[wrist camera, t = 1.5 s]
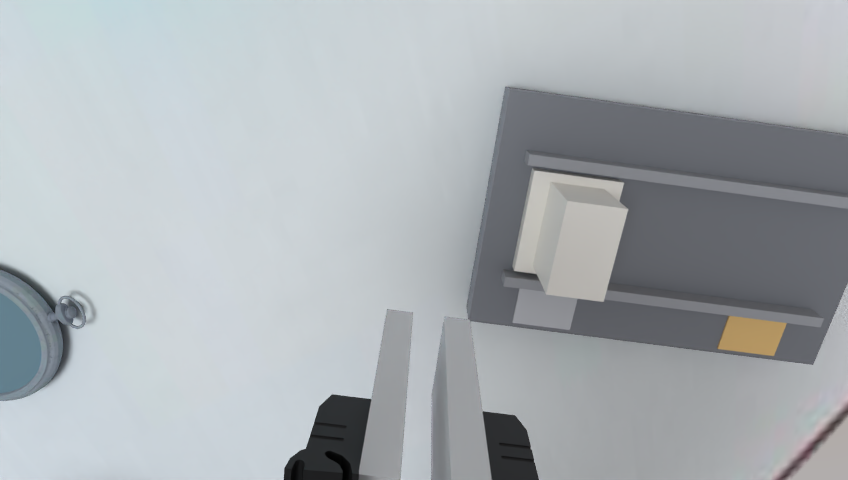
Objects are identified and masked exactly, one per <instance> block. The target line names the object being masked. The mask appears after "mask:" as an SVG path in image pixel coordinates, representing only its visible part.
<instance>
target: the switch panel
mask: <svg viewBox="0 0 848 480" xmlns="http://www.w3.org/2000/svg"><path fill="white" fill-rule="evenodd" d="M532 168H539V169H547V170H554V171H562V172H569V173H576V174H584V175H591V176H598V177H606V178H613V179H620V180H621V181H623V182H624V186H623V190H622V193H621V197H620V201H619V202H620V203H622V204H623V205H624V206H625V207H626V208H628V212H627V216H626V220H625V224H624V227H623V231H622V235H621V239H620V242H619V246H618V250H617V254H616V257H615V261H614V265H613V269H612V272H611V276H610V280H609V284H608V287H607V291H606V295H605V299H604V302H600V301H592V300H584V299H577V298H569V297H561V296H553V295H546V293H545V291H544V289H543V287H542V284H541V282H540V280H539V278H538V276H537V274H533V273H525V272H518V271H514V269H513V266H512V265H513V260H514V255H515V250H516V245H517V240H518V235H519V230H520V225H521V220H522V215H523V211H524V206H525V201H526V196H527V191H528V186H529V181H530V176H531V171H532ZM847 283H848V135H845V134H838V133H831V132H824V131H817V130H810V129H802V128H795V127H788V126H781V125H774V124H767V123H760V122H753V121H745V120H738V119H731V118H724V117H717V116H710V115H703V114H695V113H688V112H681V111H674V110H667V109H660V108H653V107H646V106H638V105H631V104H624V103H617V102H610V101H603V100H596V99H588V98H581V97H574V96H567V95H560V94H553V93H546V92H539V91H531V90H524V89H517V88H510V87H505V92H504V97H503V103H502V109H501V114H500V120H499V126H498V131H497V137H496V143H495V148H494V154H493V160H492V165H491V171H490V177H489V182H488V188H487V194H486V199H485V205H484V211H483V216H482V222H481V228H480V233H479V239H478V245H477V250H476V256H475V262H474V267H473V273H472V279H471V284H470V290H469V296H468V302H467V313H468V320H470V321H474V322H482V323H490V324H497V325H505V326H513V327H521V328H529V329H537V330H544V331H552V332H560V333H568V334H576V335H584V336H592V337H599V338H607V339H615V340H623V341H631V342H639V343H647V344H654V345H662V346H670V347H678V348H686V349H694V350H701V351H709V352H717V353H725V354H733V355H741V356H749V357H756V358H764V359H772V360H780V361H788V362H796V363H803V364H811V365H813V363H814V361H815V359H816V356H817V354H818V352H819V349H820V347H821V344H822V342H823V340H824V337H825V335H826V333H827V330H828V328H829V326H830V323H831V321H832V318H833V316H834V314H835V311H836V309H837V307H838V304H839V302H840V300H841V297H842V295H843V292H844V290H845V288H846V285H847Z"/></svg>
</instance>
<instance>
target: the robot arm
mask: <svg viewBox="0 0 848 480" xmlns="http://www.w3.org/2000/svg"><path fill="white" fill-rule="evenodd" d="M412 320H413V313H412V312H404V311H396V310H388V309H387V313H386V319H385V325H384V330H383V336H382V342H381V348H380V353H379V359H378V365H377V370H376V376H375V382H374V388H373V393H372V399H365V398H356V397H348V396H340V395H331V396H330V397H329V398H328V399H327V400H326V401H325V402H324V403H323V404H322V405H320V406H319V409H318V412H317V416H316V419H315V422H314V425H313V428H312V431H311V435H310V438H309V441H308V444H307V447H306V449H304V450H301V451H299V452H298V453H297V454H295V455H294V456H293V457H291V458H290V460H289V461H288V463H287V465H286V467H285V470H284V480H400V478H401V465H402V452H403V438H404V425H405V412H406V399H407V386H408V372H409V359H410V346H411V333H412ZM530 447H531V446H530V442H529V438H528V434H527V430H526V429H525V428H524V426H523V425H522V424H521V422H520V421H519V420H518V419H517V417H516V416H515V415H507V414H499V413H491V412H482V404H481V397H480V389H479V382H478V375H477V367H476V360H475V352H474V345H473V338H472V330H471V323H470V320H467V319H459V318H451V317H444V322H443V328H442V335H441V341H440V347H439V353H438V359H437V365H436V371H435V378H434V384H433V390H432V416H431V480H539V479H538V475H537V470H536V466H535V463H534V458H533V454H532V450H531V449H530Z"/></svg>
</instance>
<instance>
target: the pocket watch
mask: <svg viewBox="0 0 848 480" xmlns="http://www.w3.org/2000/svg"><path fill="white" fill-rule="evenodd" d="M63 299H69V300H71V301H73V302H74V303H75V304H76V305H77V307H78V308H79V310H80V312H81V314H82V317H83V322H82V324H81V325H80V326H75V325H73V324H72V323H73V318H75V317H76V315H77V311H76V309H75V308H74V307H72V306H71V307H68V306H67V305H66V304H64V303H62V304H61V301H62V300H63ZM57 319H58V320H59V321H60V322H61V323H63V324H64V325H68V324H69V325H70V326H71V327H73V328H76V329H79V328H82V327H83V326H84V325H85V322H86V316H85V313H84V311H83V309H82V307H81V305H80V304H79V303H78V302H77V301H76V300H75V299H73V298H72V297H69V296H63V297H61V298H60V299H59V301H58V305H56V308H55V313H53V311H52V309H51V308H50V307H49V305H48V304H47V302H46V301H45V300H44V299H43V298H42V297H41V296H40V295H39V294H38V293H37V292H36V291H35V290H34V289H33V288H32V287H31V286H29V285H28V284H27V283H25V282H24V281H22V280H21V279H19V278H18V277H16V276H14V275H12V274H10V273H8V272H5V271H3V270H0V401H8V400H15V399H20V398H23V397H26V396H29V395H31V394H33V393H35V392H37V391H38V390H40V389H41V388H42V387H44V386H45V385H46V384H47V383H48V382H49V381H50V380H51V379H52V378H53V376H54V375H55V373H56V371H57V369H58V367H59V364H60V361H61V357H62V353H63V338H62V333H61V329H60V326H59V323H58V321H57Z"/></svg>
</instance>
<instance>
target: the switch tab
mask: <svg viewBox="0 0 848 480" xmlns="http://www.w3.org/2000/svg"><path fill="white" fill-rule="evenodd" d="M623 186H624V182H623V181H621V180H620V179H613V178H606V177H598V176H591V175H584V174H576V173H569V172H562V171H554V170H547V169H539V168H532V171H531V176H530V181H529V186H528V191H527V196H526V201H525V206H524V211H523V215H522V220H521V225H520V230H519V235H518V240H517V245H516V250H515V255H514V260H513V265H512V266H513V269H514V271H518V272H525V273H533V274H537V276H538V278H539V280H540V282H541V284H542V287H543V289H544V291H545V293H546V295H553V296H561V297H569V298H577V299H584V300H592V301H600V302H604V299H605V295H606V291H607V287H608V284H609V280H610V276H611V272H612V269H613V265H614V261H615V257H616V254H617V250H618V246H619V242H620V239H621V235H622V231H623V227H624V224H625V220H626V216H627V212H628V208H626V207H625V206H624V205H623V204H622V203H620V202H619V201H620V197H621V193H622V190H623Z"/></svg>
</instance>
